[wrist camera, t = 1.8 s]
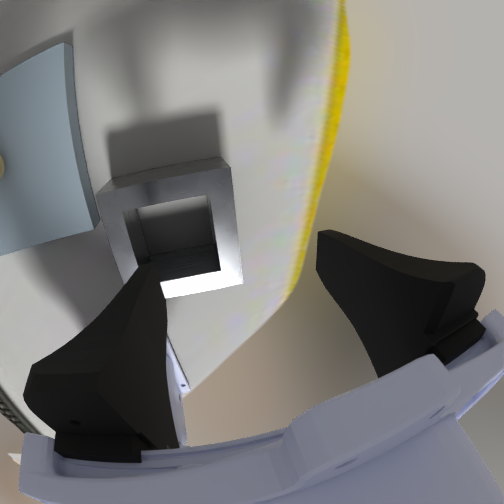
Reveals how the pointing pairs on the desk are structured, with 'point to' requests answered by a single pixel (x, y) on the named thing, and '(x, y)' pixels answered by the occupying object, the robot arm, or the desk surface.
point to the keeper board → (42, 154)
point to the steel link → (181, 261)
